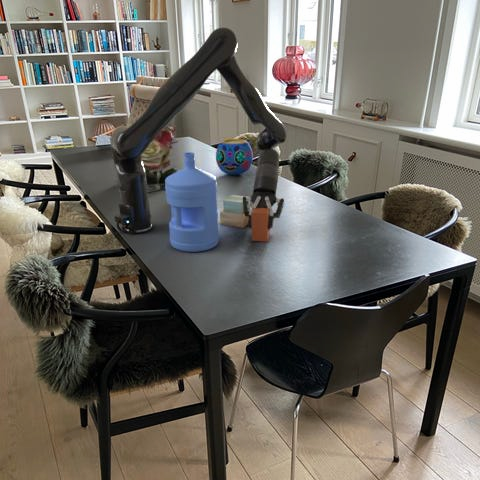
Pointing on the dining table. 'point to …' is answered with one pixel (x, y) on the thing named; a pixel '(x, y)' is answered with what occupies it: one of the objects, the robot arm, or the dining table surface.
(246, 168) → the ceramic pot
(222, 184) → the dining table surface
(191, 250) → the water jug
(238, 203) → the stack
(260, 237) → the tall block
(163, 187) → the rose bouquet
